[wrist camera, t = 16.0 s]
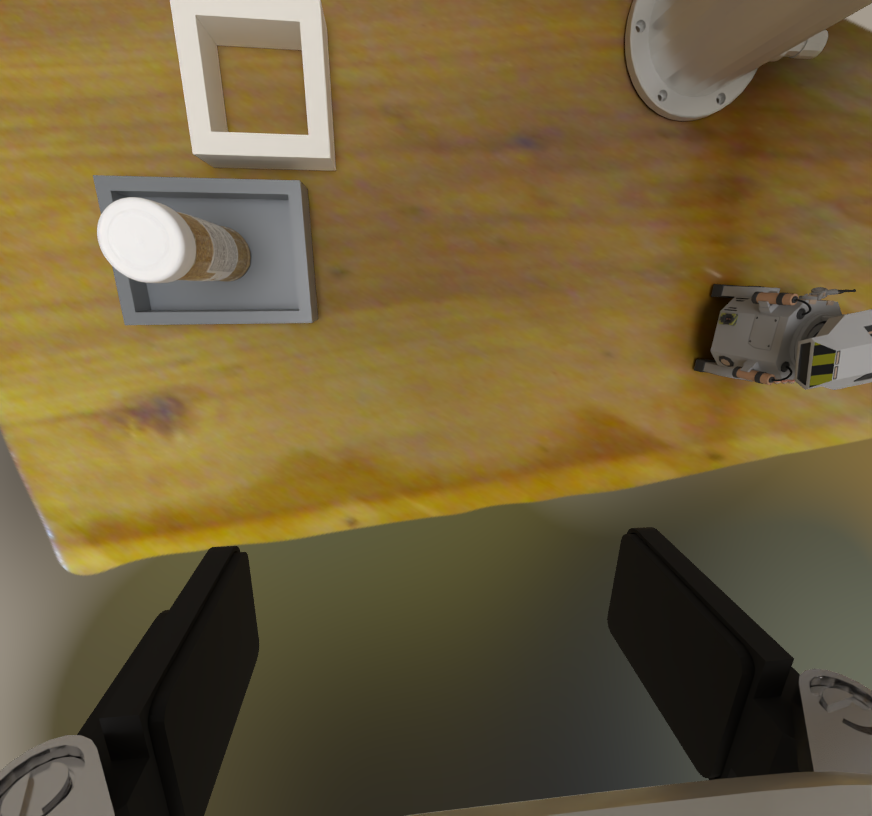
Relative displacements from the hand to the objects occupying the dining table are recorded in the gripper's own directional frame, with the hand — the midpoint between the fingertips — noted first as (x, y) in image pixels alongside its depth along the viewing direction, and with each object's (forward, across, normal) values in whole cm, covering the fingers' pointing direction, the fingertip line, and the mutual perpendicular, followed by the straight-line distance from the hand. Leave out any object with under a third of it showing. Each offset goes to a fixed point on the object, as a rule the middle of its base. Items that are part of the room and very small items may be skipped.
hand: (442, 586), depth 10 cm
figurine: (+33, -36, -3) cm, 49 cm away
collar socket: (+33, +11, -21) cm, 40 cm away
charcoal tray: (+33, +15, -9) cm, 37 cm away
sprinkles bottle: (+32, +15, -9) cm, 36 cm away
